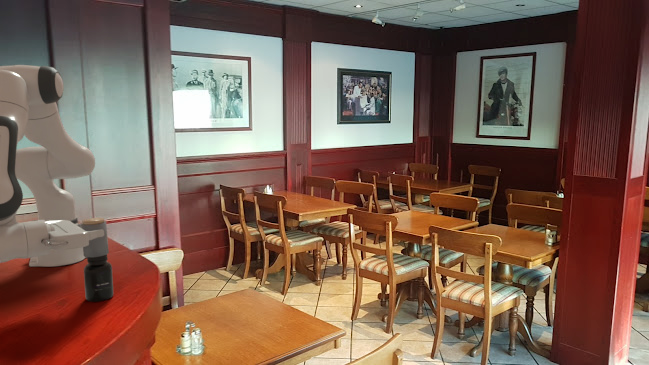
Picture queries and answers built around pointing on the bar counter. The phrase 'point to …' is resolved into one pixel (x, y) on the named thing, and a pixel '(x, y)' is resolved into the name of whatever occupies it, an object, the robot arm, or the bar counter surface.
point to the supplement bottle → (98, 279)
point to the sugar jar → (98, 244)
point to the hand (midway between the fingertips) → (98, 229)
